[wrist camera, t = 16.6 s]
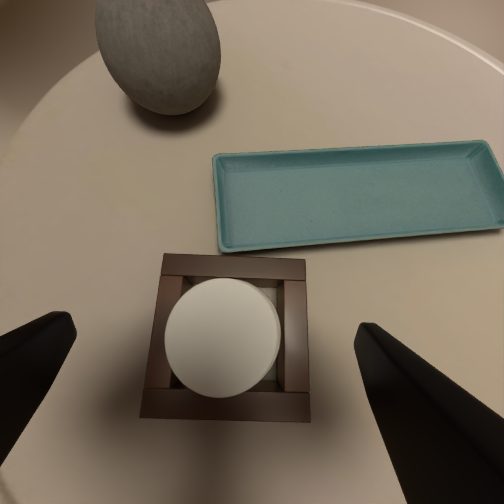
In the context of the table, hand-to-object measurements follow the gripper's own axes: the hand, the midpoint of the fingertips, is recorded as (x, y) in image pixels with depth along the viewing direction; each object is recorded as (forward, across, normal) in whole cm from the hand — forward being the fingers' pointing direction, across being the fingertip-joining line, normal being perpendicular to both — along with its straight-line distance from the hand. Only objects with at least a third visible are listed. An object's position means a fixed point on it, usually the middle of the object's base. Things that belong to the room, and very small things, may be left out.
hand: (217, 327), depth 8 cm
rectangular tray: (+17, -11, 0) cm, 20 cm away
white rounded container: (+9, 0, +9) cm, 13 cm away
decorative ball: (+25, +7, -8) cm, 27 cm away
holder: (+9, 0, +9) cm, 12 cm away
